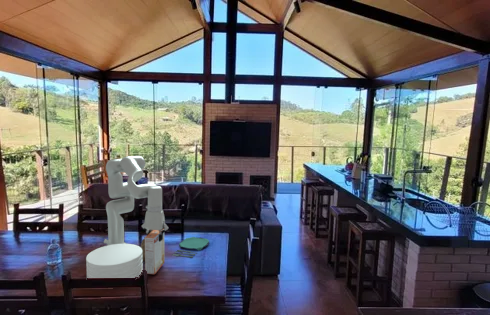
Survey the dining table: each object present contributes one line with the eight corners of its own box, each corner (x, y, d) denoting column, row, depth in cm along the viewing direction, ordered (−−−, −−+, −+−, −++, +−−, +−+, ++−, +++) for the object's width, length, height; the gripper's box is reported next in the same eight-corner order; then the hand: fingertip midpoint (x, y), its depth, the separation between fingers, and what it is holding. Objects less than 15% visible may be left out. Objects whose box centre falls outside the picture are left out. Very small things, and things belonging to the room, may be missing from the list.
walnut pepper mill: (139, 261, 181) (139, 238, 179) (144, 257, 186) (143, 235, 184) (147, 261, 180) (147, 238, 178) (151, 258, 185) (151, 235, 183)
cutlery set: (213, 241, 214) (213, 238, 214) (195, 260, 185) (195, 256, 185) (188, 238, 220) (188, 235, 219) (166, 255, 191) (166, 252, 191)
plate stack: (105, 260, 181) (105, 242, 179) (150, 263, 178) (150, 245, 177) (74, 285, 153) (74, 263, 152) (127, 289, 150) (127, 267, 149)
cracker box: (155, 262, 177) (155, 227, 174) (164, 263, 176) (165, 228, 174) (144, 273, 163) (144, 236, 161) (154, 275, 162) (154, 237, 160)
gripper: (136, 209, 163) (137, 241, 165) (167, 211, 161) (166, 244, 163) (143, 205, 170) (143, 236, 173) (172, 208, 168) (172, 239, 170)
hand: (154, 239), depth 168 cm, fingers closed on cracker box, 6 cm apart
